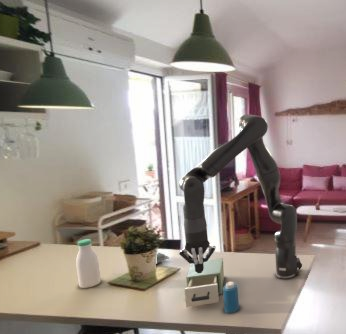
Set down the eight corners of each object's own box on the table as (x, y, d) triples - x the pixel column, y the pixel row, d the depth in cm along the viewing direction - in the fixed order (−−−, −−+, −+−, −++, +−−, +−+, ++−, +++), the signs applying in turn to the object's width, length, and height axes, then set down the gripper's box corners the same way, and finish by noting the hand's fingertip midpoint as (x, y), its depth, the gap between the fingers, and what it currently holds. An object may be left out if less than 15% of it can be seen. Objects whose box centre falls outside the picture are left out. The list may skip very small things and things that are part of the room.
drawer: (217, 308, 126) (216, 290, 125) (184, 313, 123) (182, 295, 122) (221, 285, 143) (219, 269, 142) (191, 289, 140) (190, 272, 138)
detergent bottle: (239, 304, 130) (237, 279, 128) (238, 311, 125) (237, 285, 123) (225, 306, 129) (223, 281, 127) (224, 314, 124) (222, 287, 122)
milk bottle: (103, 283, 147) (97, 240, 144) (81, 290, 142) (74, 245, 138) (98, 277, 152) (93, 236, 149) (77, 284, 147) (71, 241, 143)
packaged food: (156, 256, 174) (155, 247, 173) (170, 261, 168) (169, 252, 167) (139, 263, 167) (138, 253, 166) (153, 268, 161) (152, 259, 160)
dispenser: (221, 293, 138) (220, 272, 136) (188, 298, 134) (186, 277, 133) (224, 277, 152) (222, 257, 150) (193, 281, 148) (191, 261, 147)
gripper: (173, 234, 118) (178, 279, 121) (213, 229, 121) (217, 274, 124) (178, 227, 125) (182, 270, 128) (215, 223, 128) (219, 265, 131)
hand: (199, 272), depth 126 cm, fingers closed
